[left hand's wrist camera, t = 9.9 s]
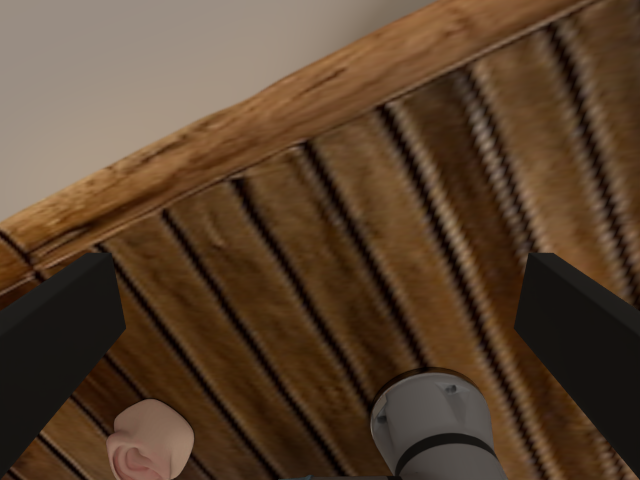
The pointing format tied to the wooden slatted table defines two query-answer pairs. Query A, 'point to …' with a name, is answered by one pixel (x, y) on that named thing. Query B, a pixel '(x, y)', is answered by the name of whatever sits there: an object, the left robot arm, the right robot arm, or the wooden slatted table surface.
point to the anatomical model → (149, 442)
